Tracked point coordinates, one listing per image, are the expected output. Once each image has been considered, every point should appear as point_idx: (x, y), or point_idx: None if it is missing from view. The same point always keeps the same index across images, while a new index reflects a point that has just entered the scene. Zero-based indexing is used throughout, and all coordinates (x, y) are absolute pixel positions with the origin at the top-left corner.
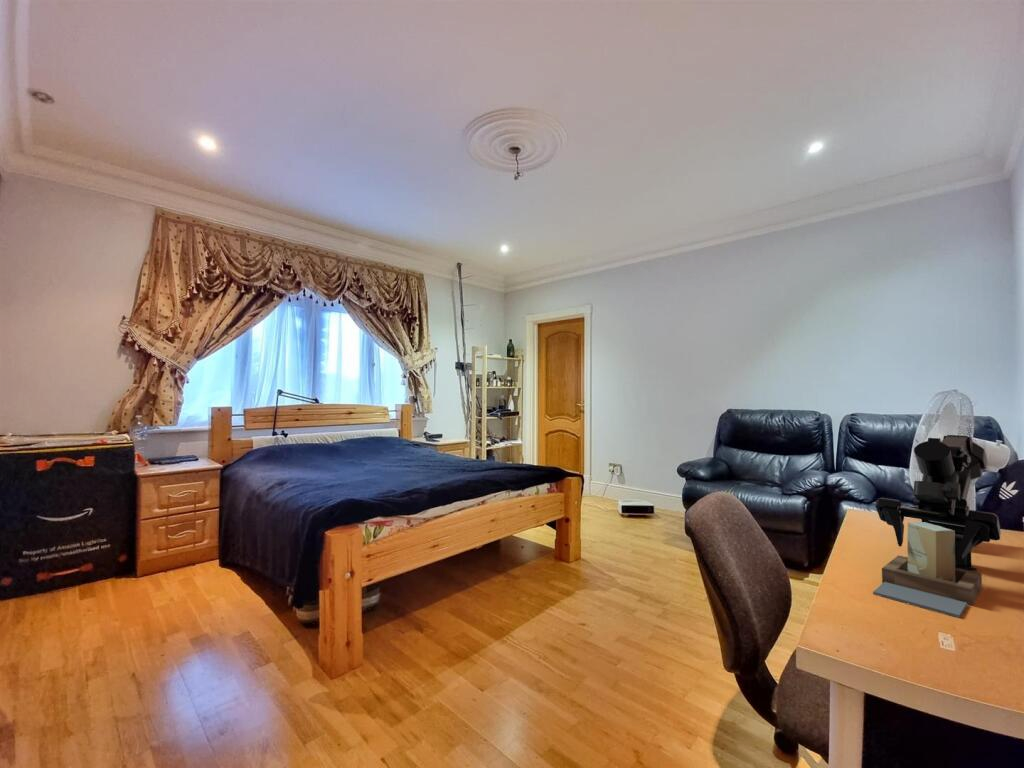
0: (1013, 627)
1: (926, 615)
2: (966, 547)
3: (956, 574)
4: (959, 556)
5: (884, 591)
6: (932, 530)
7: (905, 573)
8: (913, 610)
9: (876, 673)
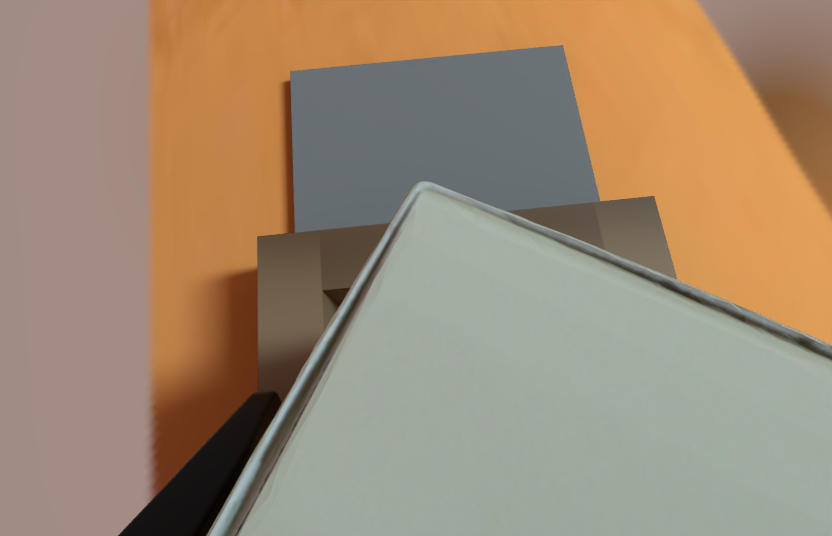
0: (154, 149)
1: (371, 14)
2: (170, 486)
3: None
4: (276, 396)
5: (540, 83)
6: (487, 211)
7: (543, 214)
8: (411, 21)
9: None
